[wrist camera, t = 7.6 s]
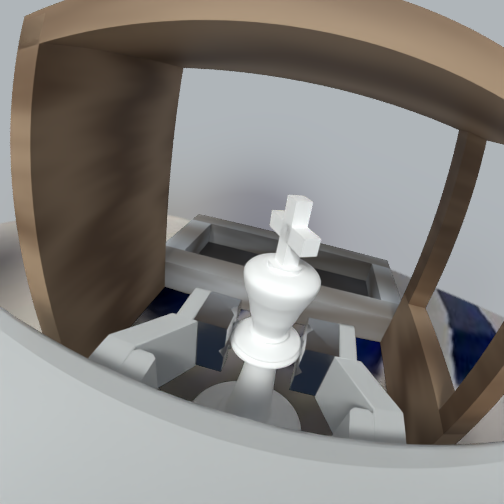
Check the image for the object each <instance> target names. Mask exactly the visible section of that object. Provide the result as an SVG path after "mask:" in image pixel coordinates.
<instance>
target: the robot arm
mask: <svg viewBox="0 0 504 504" xmlns="http://www.w3.org/2000/svg"><path fill="white" fill-rule="evenodd" d="M241 306H242V300H241V299H237V298H234V297H230V296H227V295H224V294H220V293H217V292H214V291H210V290H207V289H203V288H200V287H197V288H195V289H194V291H193V292H192V293H191V295H190V296H189V297H188V299H187V300H186V302H185V303H184V304H183V306H182V307H181V308H180V310H179V311H178V313H177V314H173V313H171V314H168V315H165V316H162V317H160V318H157V319H154V320H151V321H148V322H145V323H142V324H139V325H136V326H133V327H130V328H127V329H124V330H121V331H118V332H115V333H112V334H109V335H108V336H107V337H106V338H105V339H104V341H103V342H102V343H101V344H100V345H99V346H98V347H97V348H96V350H95V351H94V352H93V353H92V354H91V355H90V356H89V358H86V357H84V356H82V355H80V354H78V353H77V352H75V351H73V350H71V349H69V348H67V347H65V346H64V345H62V344H60V343H58V342H56V341H55V340H53V339H51V338H49V337H48V336H46V335H44V334H43V333H41V332H39V331H38V330H36V329H34V328H33V327H31V326H29V325H28V324H26V323H25V322H23V321H21V320H20V319H18V318H17V317H15V316H14V315H12V314H11V313H9V312H8V311H6V310H5V309H3V308H2V307H0V504H504V441H502V442H492V443H479V444H458V445H419V444H406V434H405V425H404V417H403V412H402V411H401V410H400V408H399V407H398V406H397V405H396V404H395V402H394V401H393V400H392V399H391V397H390V396H389V395H388V394H387V393H386V391H385V390H384V389H383V388H382V386H381V385H380V384H379V383H378V382H377V380H376V379H375V378H374V377H373V375H372V374H371V373H370V372H369V371H368V369H367V368H366V367H365V366H364V365H363V363H362V362H360V361H357V353H356V339H355V328H354V327H353V326H350V325H345V324H340V323H333V322H328V321H324V320H319V319H315V318H311V317H308V318H307V321H306V324H305V326H304V332H303V336H302V337H301V338H300V339H301V353H300V355H299V357H298V359H297V360H296V361H295V362H294V366H295V367H294V370H293V373H292V377H291V382H290V388H289V390H292V391H296V392H300V393H304V394H309V395H313V396H315V399H316V401H317V403H318V405H319V407H320V409H321V411H322V413H323V415H324V417H325V419H326V421H327V423H328V425H329V427H330V429H331V431H332V433H333V435H332V436H326V435H320V434H314V433H309V432H303V431H298V430H293V429H289V428H284V427H279V426H275V425H271V424H266V423H262V422H258V421H254V420H250V419H247V418H243V417H239V416H236V415H232V414H229V413H225V412H222V411H219V410H215V409H212V408H209V407H206V406H203V405H200V404H197V403H194V402H191V401H188V400H185V399H182V398H179V397H176V396H174V395H171V394H168V393H166V392H163V391H160V390H158V388H159V387H160V386H162V385H164V384H165V383H167V382H169V381H171V380H172V379H174V378H176V377H177V376H179V375H181V374H182V373H184V372H186V371H187V370H189V369H191V368H192V367H194V366H195V364H196V365H199V366H202V367H206V368H209V369H213V370H216V371H220V372H221V371H222V369H223V366H224V364H225V362H226V359H227V356H228V350H229V349H230V348H231V347H232V346H231V334H232V332H233V330H234V329H235V327H236V326H237V324H238V323H239V321H238V319H237V318H238V316H239V314H240V311H241Z"/></svg>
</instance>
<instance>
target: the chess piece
mask: <svg viewBox="0 0 504 504" xmlns="http://www.w3.org/2000/svg"><path fill="white" fill-rule="evenodd" d="M312 205H313V202H312V201H311V200H309V199H308V198H307V197H305V196H300V195H288V198H287V203H286V208H285V210H272V215H271V220H270V225H269V226H270V227H271V228H272V229H273V230H274V231H275V232H276V233H277V234H278V235H279V236H280V237H279V242H278V246H277V251H276V253H265V254H261V255H258V256H255V257H253V258H252V259H250V260H249V261H248V262H247V263H246V265H245V267H244V282H245V288H246V291H247V294H248V298H249V303H250V313H251V317H248V318H246V319H244V320H242V321H240V322H239V323H238V324H237V326H236V327H235V329H234V330H233V332H232V334H231V346H232V348H233V350H234V352H235V353H236V354H237V356H238V357H239V358H241V359H242V360H243V361H244V364H243V367H242V370H241V373H240V375H239V378H238V380H237V381H229V382H223V383H219V384H216V385H214V386H211V387H209V388H207V389H206V390H204V391H203V392H201V393H200V394H199V395H198V396H197V397H196V398H195V399H194V401H193V402H194V403H197V404H200V405H203V406H206V407H209V408H212V409H215V410H219V411H222V412H225V413H229V414H232V415H236V416H239V417H243V418H247V419H250V420H254V421H258V422H262V423H266V424H271V425H275V426H279V427H284V428H289V429H293V430H298V431H301V425H300V420H299V417H298V415H297V413H296V411H295V409H294V408H293V406H292V405H291V404H290V403H289V401H288V400H287V399H286V398H284V397H283V396H282V395H281V394H279V393H278V392H276V391H275V390H273V388H274V381H275V374H276V369H280V368H284V367H287V366H289V365H291V364H292V363H294V362H295V361H296V360H297V359H298V357H299V355H300V353H301V339H300V336H299V334H298V332H297V331H296V330H295V329H294V328H293V327H292V325H293V324H294V323H295V322H296V321H297V319H298V317H299V316H300V314H301V313H302V312H303V311H304V309H305V308H306V307H307V306H308V305H309V304H310V303H311V302H312V300H313V299H314V298H315V296H316V295H317V293H318V292H319V289H320V287H321V279H320V276H319V274H318V273H317V271H316V270H315V269H314V268H313V267H312V266H311V265H310V264H308V263H307V262H305V261H304V260H302V259H300V257H317V254H318V250H319V246H320V243H321V238H320V237H318V236H317V235H316V234H315V233H314V232H313V231H311V230H310V229H309V228H308V222H309V218H310V214H311V210H312Z"/></svg>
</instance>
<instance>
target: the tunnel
mask: <svg viewBox="0 0 504 504" xmlns="http://www.w3.org/2000/svg"><path fill="white" fill-rule="evenodd" d="M183 68H198V69H215V70H226V71H236V72H245V73H254V74H262V75H268V76H275V77H282V78H287V79H293V80H298V81H304V82H309V83H313V84H318V85H323V86H327V87H331V88H336V89H340V90H344V91H348V92H352V93H355V94H359V95H363V96H366V97H370V98H373V99H376V100H380V101H383V102H386V103H390V104H393V105H396V106H398V107H401V108H404V109H407V110H410V111H413V112H416V113H419V114H421V115H424V116H427V117H429V118H432V119H434V120H437V121H439V122H442V123H444V124H446V125H449V126H451V127H453V128H456V129H458V130H459V134H458V138H457V142H456V146H455V151H454V154H453V158H452V162H451V166H450V169H449V173H448V177H447V180H446V183H445V187H444V190H443V193H442V197H441V200H440V203H439V206H438V209H437V212H436V215H435V218H434V221H433V224H432V227H431V229H430V232H429V235H428V237H427V240H426V243H425V245H424V248H423V251H422V253H421V256H420V258H419V261H418V263H417V265H416V268H415V270H414V273H413V275H412V277H411V279H410V282H409V284H408V286H407V289H406V291H405V293H404V295H403V297H402V299H401V298H400V295H399V292H398V289H397V287H396V284H395V281H394V278H393V275H392V272H391V270H390V267H389V264H388V261H387V260H383V259H379V258H375V257H371V256H368V255H364V254H360V253H356V252H353V251H349V250H345V249H341V248H337V247H333V246H329V245H325V244H321V243H320V246H319V250H318V254H317V257H300V259H302V260H304V261H305V262H307V263H308V264H310V265H311V266H312V267H313V268H314V269H315V270H316V271H317V273H318V274H319V276H320V279H321V287H320V289H319V292H318V293H317V295H316V296H315V298H314V299H313V300H312V302H311V303H310V304H309V305H308V306H307V307H306V308H305V309H304V311H303V312H302V313H301V314H300V316H299V317H298V319H297V321H296V322H295V323H298V324H302V325H305V324H306V321H307V318H308V317H311V318H315V319H319V320H324V321H328V322H333V323H340V324H345V325H350V326H353V327H354V328H355V337H358V338H363V339H368V340H373V341H378V342H380V344H381V350H382V357H383V364H384V372H385V379H386V388H387V394H388V395H389V396H390V397H391V399H392V400H393V401H394V402H395V404H396V405H397V406H398V407H399V408H400V410H401V411H402V412H403V417H404V425H405V434H406V444H419V445H455V444H456V443H457V442H458V441H460V440H461V439H462V438H463V437H464V436H465V435H466V434H467V433H468V432H469V431H470V430H471V429H472V428H473V427H474V426H475V425H476V424H477V423H478V422H479V421H480V420H481V419H482V418H483V417H484V416H485V415H486V414H487V413H488V412H489V411H490V409H491V408H492V407H493V406H494V405H495V404H496V403H497V402H498V401H499V399H500V398H501V397H502V396H503V395H504V322H503V323H502V325H501V327H500V328H499V330H498V332H497V333H496V335H495V336H494V338H493V340H492V341H491V343H490V344H489V346H488V347H487V349H486V350H485V352H484V353H483V355H482V356H481V357H480V359H479V360H478V362H477V363H476V364H475V366H474V367H473V369H472V370H471V371H470V373H469V374H468V375H467V377H466V378H465V379H464V380H463V382H462V383H461V384H460V386H459V387H458V388H457V389H456V391H455V390H454V387H453V384H452V380H451V377H450V374H449V371H448V368H447V365H446V362H445V359H444V356H443V353H442V350H441V347H440V345H439V342H438V339H437V336H436V334H435V331H434V328H433V326H432V323H431V321H430V318H429V316H428V313H427V311H426V306H427V304H428V302H429V300H430V298H431V296H432V294H433V292H434V290H435V288H436V286H437V283H438V281H439V279H440V277H441V275H442V273H443V270H444V268H445V266H446V263H447V261H448V259H449V256H450V254H451V252H452V249H453V247H454V244H455V241H456V239H457V236H458V234H459V231H460V228H461V226H462V223H463V220H464V217H465V215H466V212H467V209H468V206H469V203H470V199H471V197H472V193H473V190H474V187H475V183H476V180H477V177H478V173H479V169H480V165H481V161H482V157H483V154H484V150H485V145H486V141H492V142H496V143H500V144H504V47H502V46H501V45H499V44H497V43H495V42H494V41H492V40H490V39H489V38H487V37H485V36H483V35H481V34H479V33H477V32H476V31H474V30H472V29H470V28H468V27H466V26H464V25H461V24H460V23H458V22H456V21H453V20H451V19H449V18H447V17H445V16H442V15H440V14H438V13H435V12H432V11H430V10H428V9H425V8H423V7H420V6H417V5H415V4H412V3H409V2H406V1H403V0H65V1H62V2H59V3H56V4H53V5H51V6H48V7H46V8H43V9H41V10H38V11H36V12H33V13H31V14H29V15H26V16H25V17H24V21H23V25H22V31H21V35H20V40H19V46H18V52H17V58H16V65H15V73H14V81H13V92H12V105H11V132H10V136H11V138H10V145H11V147H10V148H11V174H12V187H13V199H14V208H15V215H16V223H17V230H18V236H19V242H20V247H21V253H22V258H23V263H24V267H25V272H26V276H27V280H28V284H29V288H30V292H31V296H32V300H33V303H34V307H35V310H36V314H37V317H38V320H39V323H40V326H41V330H42V333H43V334H44V335H46V336H48V337H49V338H51V339H53V340H55V341H56V342H58V343H60V344H62V345H64V346H65V347H67V348H69V349H71V350H73V351H75V352H77V353H78V354H80V355H82V356H84V357H86V358H89V356H90V355H91V354H92V353H93V352H94V351H95V350H96V348H97V347H98V346H99V345H100V344H101V343H102V342H103V341H104V339H105V338H106V337H107V336H108V335H109V334H112V333H115V332H118V331H121V330H124V329H127V328H130V327H131V326H132V324H133V323H134V322H135V321H136V320H137V318H138V317H139V316H140V315H141V314H142V313H143V311H144V310H145V309H146V308H147V307H148V305H149V304H150V303H151V302H152V301H153V300H154V298H155V297H156V296H157V295H158V294H159V293H160V292H161V290H162V289H163V288H164V287H168V288H171V289H174V290H178V291H181V292H184V293H188V294H191V293H192V292H193V291H194V289H195V288H197V287H200V288H203V289H207V290H210V291H214V292H217V293H220V294H224V295H227V296H230V297H234V298H237V299H241V300H242V306H241V309H243V310H247V311H250V303H249V298H248V294H247V291H246V288H245V282H244V267H245V265H246V263H247V262H248V261H249V260H250V259H252V258H253V257H255V256H258V255H261V254H265V253H276V251H277V246H278V242H279V237H280V236H279V235H278V234H277V233H276V232H273V231H269V230H264V229H261V228H256V227H252V226H248V225H244V224H239V223H235V222H231V221H227V220H222V219H218V218H213V217H209V216H205V215H200V214H199V215H197V216H196V217H195V218H194V219H193V220H191V221H190V222H189V223H188V224H187V225H185V226H184V227H183V228H182V229H181V230H180V231H178V232H177V233H176V234H175V235H174V236H173V237H171V238H170V239H169V240H168V241H167V242H166V228H167V209H168V195H169V182H170V170H171V158H172V148H173V139H174V130H175V121H176V114H177V106H178V99H179V92H180V85H181V79H182V72H183Z"/></svg>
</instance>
